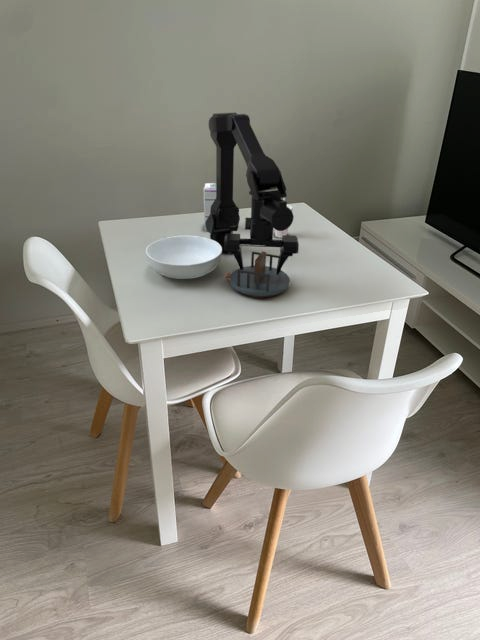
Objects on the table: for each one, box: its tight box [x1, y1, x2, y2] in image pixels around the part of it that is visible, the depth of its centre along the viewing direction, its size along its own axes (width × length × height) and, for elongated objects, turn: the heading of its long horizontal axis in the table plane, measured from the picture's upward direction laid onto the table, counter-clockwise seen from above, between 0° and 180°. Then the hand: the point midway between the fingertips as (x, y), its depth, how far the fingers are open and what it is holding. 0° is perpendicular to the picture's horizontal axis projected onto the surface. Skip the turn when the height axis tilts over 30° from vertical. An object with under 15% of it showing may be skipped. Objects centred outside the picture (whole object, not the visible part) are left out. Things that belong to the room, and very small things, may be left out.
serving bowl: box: [145, 234, 223, 280], centre depth 144 cm, size 21×21×7 cm
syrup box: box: [202, 182, 216, 232], centre depth 171 cm, size 6×6×14 cm
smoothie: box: [274, 197, 294, 239], centre depth 166 cm, size 6×6×14 cm
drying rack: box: [225, 250, 291, 296], centre depth 137 cm, size 17×16×7 cm
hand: (259, 273), depth 137 cm, fingers open, 9 cm apart
